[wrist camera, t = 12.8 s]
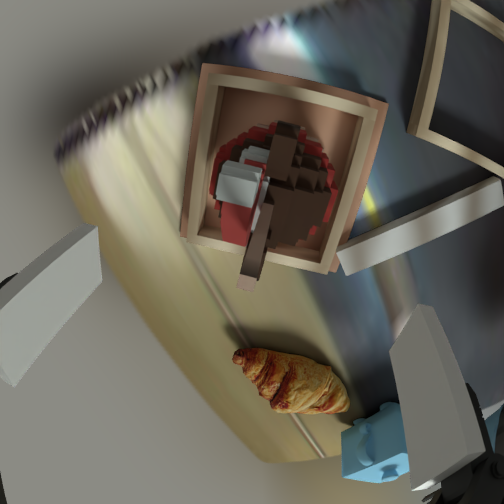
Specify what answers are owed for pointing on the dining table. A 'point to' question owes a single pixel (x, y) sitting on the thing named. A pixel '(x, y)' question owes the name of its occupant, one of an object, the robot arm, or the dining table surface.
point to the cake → (271, 191)
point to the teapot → (376, 446)
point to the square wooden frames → (333, 154)
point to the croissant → (293, 382)
